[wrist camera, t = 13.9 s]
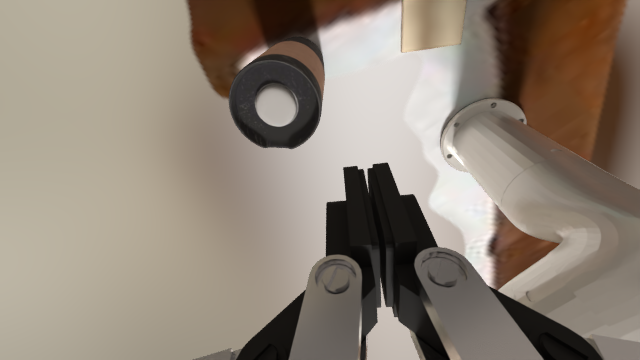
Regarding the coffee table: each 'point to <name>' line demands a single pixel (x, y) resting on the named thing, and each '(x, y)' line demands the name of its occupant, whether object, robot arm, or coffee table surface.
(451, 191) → the coffee table surface
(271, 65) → the travel mug
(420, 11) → the board
